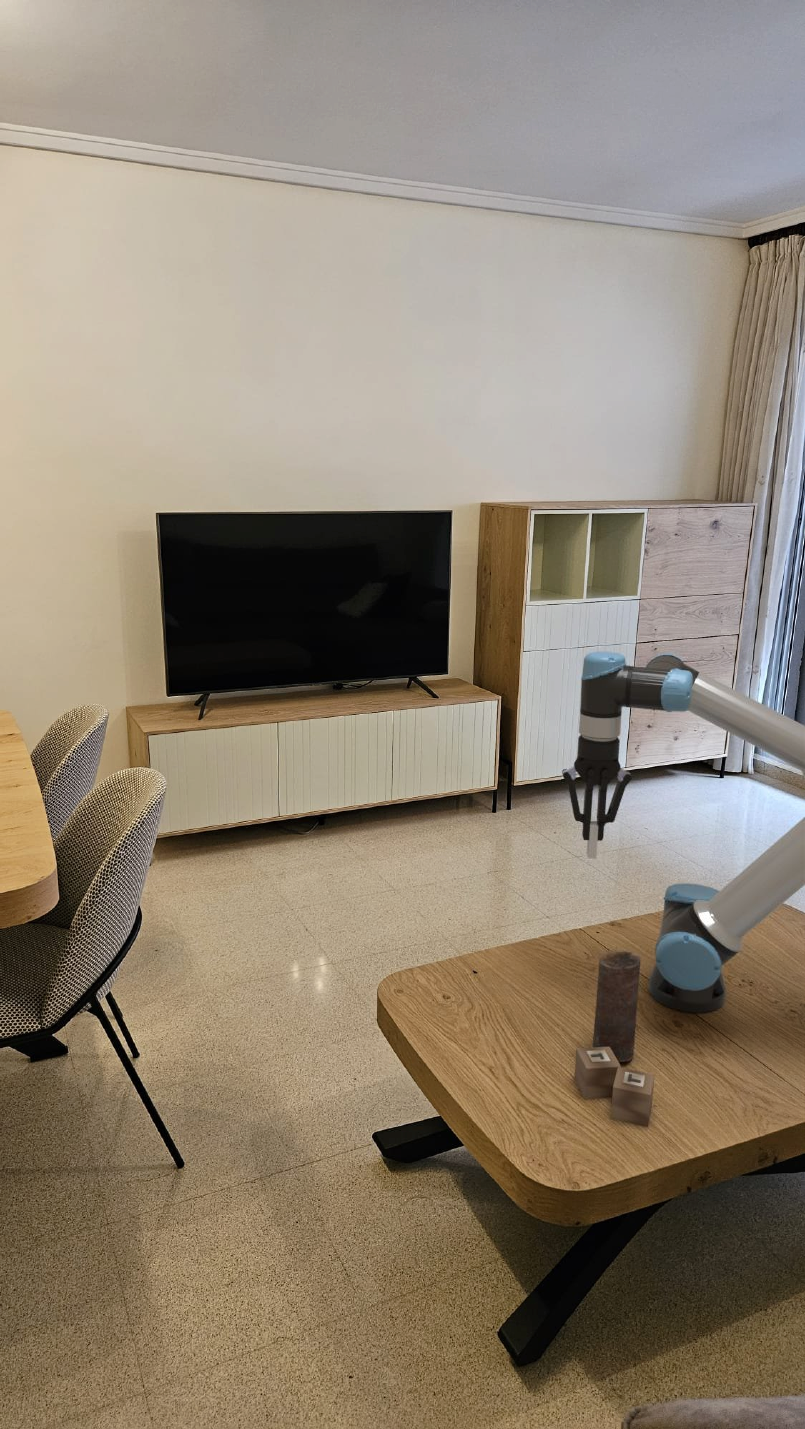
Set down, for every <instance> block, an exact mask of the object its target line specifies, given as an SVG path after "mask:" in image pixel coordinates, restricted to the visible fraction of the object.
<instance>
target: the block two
mask: <svg viewBox="0 0 805 1429" xmlns="http://www.w3.org/2000/svg"><path fill="white" fill-rule="evenodd" d="M574 1061H575V1062H574V1078H573V1079H574V1081H575V1083H576V1086H577V1087H578V1089H579V1092H580V1093H581V1095H582V1097H583V1099H584V1101H586V1100H600V1099H601V1100H602V1099H612V1095H613V1085H614V1081H615V1077H616V1073H617V1069H618V1067H621V1068H622V1066H621V1064H620V1062H618V1060H617V1059H616V1057H615V1055H614V1053H613V1052H612V1050H611V1048H610V1047H593V1046H592V1047H579V1048H578V1047H577V1048H576V1049H575V1060H574Z"/></svg>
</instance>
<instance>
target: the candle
mask: <svg viewBox="0 0 805 1429" xmlns="http://www.w3.org/2000/svg"><path fill="white" fill-rule="evenodd" d="M598 961H599V963H598V973H597V974H598V975H597V986H596V987H597V988H596V1002H595V1012H594V1023H593V1024H594V1025H593V1037H592V1048H593V1047H610V1048H611V1050H612V1052H613V1053H614V1055H615V1057H616V1059H617V1060H618V1062H619V1063H620V1062H621V1063H624V1062H628V1061H631V1060H632V1059H633V1057H634V1055H635V1054H634V1052H635V1050H634V1049H635V1042H636V1040H635V1038H636V1028H637V1027H636V1026H637V1009H638V996H639V986H640V985H639V984H640V981H639V980H640V972H641V958H640V956H639V955H638V954H636V953H634V952H630V951H627V950H626V951H618V950H616V949H614V950H612V949H610V950H608V951H604V952H603V953H602V954H601V956H600V957H599V960H598Z"/></svg>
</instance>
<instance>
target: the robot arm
mask: <svg viewBox="0 0 805 1429" xmlns="http://www.w3.org/2000/svg"><path fill="white" fill-rule="evenodd" d="M582 665H583V666H582V672H581V679H580V680H581V684H580V685H581V686H580V703H579V704H580V705H579V707H580V708H579V723H578V724H579V726H578V733H579V734H580V735H579V736H578V737H577V738H578V739H577V740H578V741H577V754H576V759H575V761H574V762H573V763H574V764H573V766H571V767H569V768H568V769H567V768H564V769H562V771H561V773H562V777H563V779H564V780H565V782H566V784H567V787H568V788H567V789H568V794H569V798H570V802H571V808H572V813H573V818H574V820H575V821H576V822H580V823H582V832H581V837H582V839H583V840H584V841H587V844H586V855H587V859H594V860H595V859H596V860H597V852H598V851H597V850H598V842H599V841H600V842H601V841H603V840H604V834H605V831H604V830H605V826H606V824H609V823H614V822H615V820H616V817H617V814H618V811H619V808H620V804H621V802H622V800H623V796H624V793H625V790H626V787H627V786H628V784H629V783H630V782H631V780H632V779H633V777H632V775H631V772H630V771H628V770H624V769H623V768H622V766H621V764H620V761H619V755H620V754H619V753H620V738H619V736H621V726H622V713H623V712H622V709H623V708H633V709H641V710H652V711H662V712H667V713H671V712H681V713H683V712H690V713H692V714H693V715H696V716H698V717H699V718H701V719H703V720H705V721H707V722H708V723H711V724H713V725H714V726H717V728H720V729H722V730H724V731H726V732H728V733H730V734H731V735H733V736H735V737H737V738H739V739H741V740H742V741H745V742H747V743H748V744H751V745H752V746H754V747H755V748H758V749H760V750H762V751H764V752H766V753H767V754H770V755H771V756H773V757H775V758H777V759H779V760H781V761H782V762H785V763H787V764H788V765H790V766H792V767H794V768H796V769H798V770H800V771H801V773H802V776H803V779H805V725H804V724H802V723H800V722H798V721H796V720H795V719H792V718H790V717H788V716H786V715H785V714H782V713H781V712H778V711H777V710H774V709H773V708H771V707H769V706H768V705H767V706H766V705H765V704H763V703H761V702H759V701H757V700H755V699H753V698H751V697H749V696H747V695H746V694H744V693H741V692H740V691H737V690H736V689H734V688H732V687H730V686H728V685H727V684H724V683H722V682H720V681H719V680H716V679H714V678H712V677H710V676H708V675H707V674H705V673H703V672H701V671H698V670H697V669H695V668H693V667H690V666H689V665H687V664H686V663H685V662H684V661H683V660H682V659H681V658H680V657H679V656H677V655H675V654H673V653H660V654H659V655H656V656H655V657H654V658H651V660H650V661H649V662H648V663H647V664H646V665H645V667H644V666H634V665H632V666H631V665H627V663H626V657H625V655H624V654H621V653H618V652H612V651H592V652H589V653H588V654H587V655H585V656H584V658H583V664H582ZM576 773H577V774H578V776H579V777H580V778H581V780H582V782H584V792H583V794H584V797H583V808H582V809H583V812H582V813H581V809H580V804H579V800H578V795H577V790H576V784H575V781H574V780H575V779H576V778H577V775H576ZM615 777H616V778H617V783H616V786H615V788H614V791H613V794H612V797H611V800H610V803H609V805H608V809H607V807H606V806H607V795H608V794H607V792H608V786H609V785H608V784H610V783H611V782H612V780H614V778H615ZM596 785H597V786H598V791H597V808H596V809H597V810H596V820H592V810H593V809H592V808H593V792H594V786H596ZM606 809H607V810H606ZM606 812H607V813H606ZM803 887H805V816H804V817H803V818H802V819H800V820H799V821H798V822H797V823H796V824H795V825H794V826H792V827H791V828H790V829H789V830H788V831H787V832H786V833H784V834H783V835H782V836H781V837H780V838H779V839H777V840H776V841H775V842H774V843H773V844H772V845H770V847H769V848H768V849H766V850H765V851H764V852H763V853H762V854H760V855H759V856H758V857H757V858H756V859H755V860H753V862H752V863H751V864H749V865H748V866H747V867H746V868H744V869H743V870H742V871H741V872H739V873H738V875H736V877H734V878H732V880H730V882H728V884H726V885H725V886H724V887H723V888H722V889H720V890H718V889H716V888H714V887H711V886H707V885H702V884H697V883H675V884H671V885H669V886H668V887H667V888H666V890H665V894H664V897H663V902H664V903H663V912H662V913H663V914H662V920H661V924H660V928H659V929H660V930H659V934H658V938H657V942H656V944H655V948H654V950H655V951H654V952H655V953H654V954H655V964H654V966H653V969H652V971H651V972H650V975H649V979H648V987H647V988H648V989H647V990H648V993H649V994H650V995H651V997H652V998H653V999H654V1000H656V1001H657V1002H658V1003H659V1004H661V1005H663V1006H665V1007H668V1008H670V1009H673V1010H677V1011H681V1012H686V1013H697V1014H698V1013H710V1012H714V1011H716V1010H718V1009H720V1008H721V1007H723V1005H724V1004H725V1002H726V996H727V995H726V994H727V993H726V991H727V989H726V984H725V981H724V977H723V972H722V969H723V966H725V964H726V963H728V962H729V961H730V960H731V959H732V958H733V957H735V956H736V955H737V954H738V953H740V952H741V951H742V950H743V939H744V937H745V936H746V935H747V934H748V933H749V932H750V931H752V930H753V929H754V928H755V927H757V926H758V925H760V923H761V922H762V921H764V920H765V919H767V917H768V916H770V915H771V914H772V913H774V912H775V911H776V910H777V909H778V908H779V907H780V906H781V905H783V904H784V903H785V902H787V901H788V900H789V899H790V898H791V897H793V895H795V894H796V893H797V892H798V891H799V890H801V888H803Z"/></svg>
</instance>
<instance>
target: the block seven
mask: <svg viewBox="0 0 805 1429" xmlns="http://www.w3.org/2000/svg"><path fill="white" fill-rule="evenodd" d="M654 1084H655V1074H654V1073H650V1072H645V1071H640V1070H635V1069H634V1070H633V1069H631V1068H624V1067H622V1066H621V1067H618V1069H617V1073H616V1077H615V1081H614V1085H613V1095H612V1098H611V1099H612V1101H611V1112H610V1119H611V1120H615V1121H619V1122H622V1123H623V1122H624V1123H627V1124H633V1125H636V1126H641V1127H646V1128H649V1126H650V1125H649V1123H650V1119H651V1114H652V1106H653V1099H654V1098H653V1096H654Z"/></svg>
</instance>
